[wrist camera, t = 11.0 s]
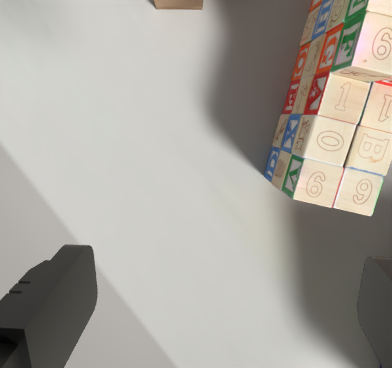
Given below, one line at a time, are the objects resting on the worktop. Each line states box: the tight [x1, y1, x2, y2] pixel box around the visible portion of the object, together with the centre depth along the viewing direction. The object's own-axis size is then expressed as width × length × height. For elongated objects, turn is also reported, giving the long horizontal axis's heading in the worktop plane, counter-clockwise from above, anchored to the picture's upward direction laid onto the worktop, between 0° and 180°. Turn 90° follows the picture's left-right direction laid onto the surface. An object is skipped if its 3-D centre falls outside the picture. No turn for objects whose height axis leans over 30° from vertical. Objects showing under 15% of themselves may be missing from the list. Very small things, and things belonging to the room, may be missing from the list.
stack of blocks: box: [264, 0, 392, 216], centre depth 26 cm, size 21×6×12 cm, turn 166°
